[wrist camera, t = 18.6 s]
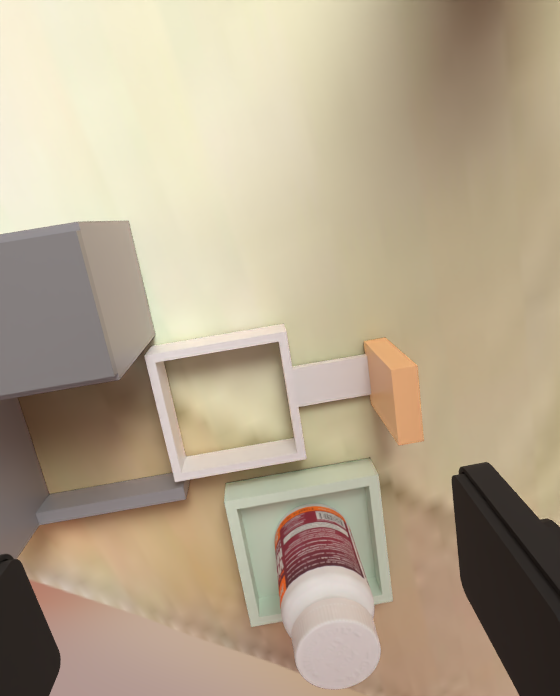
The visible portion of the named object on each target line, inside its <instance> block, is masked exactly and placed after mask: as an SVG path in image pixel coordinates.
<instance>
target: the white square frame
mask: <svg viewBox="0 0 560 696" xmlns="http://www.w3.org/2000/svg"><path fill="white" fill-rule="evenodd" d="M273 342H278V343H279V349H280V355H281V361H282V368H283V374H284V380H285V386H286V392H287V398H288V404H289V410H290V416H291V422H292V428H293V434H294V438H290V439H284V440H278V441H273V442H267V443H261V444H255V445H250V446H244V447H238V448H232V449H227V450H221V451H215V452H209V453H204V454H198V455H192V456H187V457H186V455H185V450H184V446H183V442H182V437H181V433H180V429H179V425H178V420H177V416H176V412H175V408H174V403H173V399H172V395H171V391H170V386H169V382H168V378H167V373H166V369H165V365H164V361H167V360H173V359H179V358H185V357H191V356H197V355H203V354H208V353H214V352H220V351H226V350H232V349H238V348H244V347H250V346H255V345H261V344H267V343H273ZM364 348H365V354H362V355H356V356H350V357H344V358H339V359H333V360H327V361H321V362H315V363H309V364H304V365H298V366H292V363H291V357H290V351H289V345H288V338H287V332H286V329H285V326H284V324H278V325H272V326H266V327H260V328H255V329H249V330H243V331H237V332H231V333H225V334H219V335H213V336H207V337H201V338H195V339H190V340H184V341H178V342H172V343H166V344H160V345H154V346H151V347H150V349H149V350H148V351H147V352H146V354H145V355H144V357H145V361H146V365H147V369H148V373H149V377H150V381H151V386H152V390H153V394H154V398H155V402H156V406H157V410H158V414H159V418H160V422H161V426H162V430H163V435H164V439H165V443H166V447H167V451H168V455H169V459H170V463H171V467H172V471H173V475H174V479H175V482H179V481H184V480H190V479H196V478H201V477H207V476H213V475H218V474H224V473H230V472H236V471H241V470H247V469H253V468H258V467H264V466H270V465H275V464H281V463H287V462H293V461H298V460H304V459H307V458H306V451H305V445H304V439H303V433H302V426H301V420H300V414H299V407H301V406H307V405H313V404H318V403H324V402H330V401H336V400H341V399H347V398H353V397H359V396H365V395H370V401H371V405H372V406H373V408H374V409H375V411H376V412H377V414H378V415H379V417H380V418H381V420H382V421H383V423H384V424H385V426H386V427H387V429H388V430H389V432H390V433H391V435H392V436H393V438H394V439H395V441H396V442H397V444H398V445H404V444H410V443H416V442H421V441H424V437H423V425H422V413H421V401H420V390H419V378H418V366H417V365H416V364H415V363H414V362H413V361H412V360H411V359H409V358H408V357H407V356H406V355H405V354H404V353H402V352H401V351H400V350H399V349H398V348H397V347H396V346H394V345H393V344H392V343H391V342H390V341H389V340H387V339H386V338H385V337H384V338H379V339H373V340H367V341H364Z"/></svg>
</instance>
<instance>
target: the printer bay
mask: <svg viewBox="0 0 560 696" xmlns="http://www.w3.org/2000/svg"><path fill="white" fill-rule="evenodd" d="M154 336H155V331H154V326H153V322H152V318H151V314H150V309H149V305H148V301H147V297H146V292H145V288H144V284H143V280H142V275H141V271H140V267H139V263H138V258H137V254H136V250H135V246H134V241H133V237H132V233H131V229H130V224H129V221H90V222H73V223H67V224H61V225H55V226H49V227H43V228H37V229H30V230H24V231H18V232H12V233H6V234H0V555H1V554H10V555H11V556H12V557H13V558H14V559H17V557H18V556H19V555H20V553H21V552H22V550H23V549H24V547H25V546H26V544H27V543H28V541H29V540H30V538H31V537H32V535H33V534H34V532H35V531H36V529H37V528H38V527H39V525H43V524H49V523H54V522H60V521H66V520H71V519H77V518H83V517H89V516H94V515H100V514H106V513H111V512H117V511H123V510H128V509H134V508H140V507H145V506H151V505H157V504H162V503H168V502H174V501H179V500H185V499H186V497H187V493H188V488H189V483H190V480H184V481H179V482H175V479H174V475H173V473H168V474H162V475H156V476H151V477H145V478H139V479H134V480H128V481H122V482H116V483H111V484H105V485H99V486H94V487H88V488H82V489H76V490H71V491H65V492H59V493H54V494H49V492H48V489H47V486H46V483H45V480H44V477H43V474H42V471H41V468H40V465H39V462H38V459H37V455H36V452H35V449H34V446H33V443H32V440H31V437H30V434H29V431H28V428H27V425H26V422H25V419H24V416H23V413H22V410H21V407H20V403H19V400H18V397H22V396H27V395H33V394H39V393H45V392H51V391H57V390H63V389H68V388H74V387H80V386H86V385H92V384H98V383H104V382H110V381H115V380H120V379H121V377H122V376H123V375H124V374H125V372H126V371H127V370H128V369H129V367H130V366H131V365H132V364H133V362H134V361H135V360H136V359H137V357H138V356H139V355H140V354H141V352H142V351H143V350H144V349H145V347H146V346H147V345H148V343H149V342H150V341H151V340H152V338H153V337H154Z"/></svg>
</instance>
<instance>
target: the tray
mask: <svg viewBox="0 0 560 696" xmlns="http://www.w3.org/2000/svg"><path fill="white" fill-rule="evenodd" d="M224 504H225V508H226V513H227V518H228V522H229V527H230V531H231V536H232V541H233V545H234V550H235V555H236V559H237V564H238V568H239V573H240V578H241V582H242V587H243V592H244V596H245V601H246V605H247V610H248V615H249V619H250V624H251V627H255V626H260V625H266V624H271V623H277V622H282V616H281V607H280V597H279V587H278V577H277V567H276V555H275V532H276V529H277V526H278V524H279V522H280V521H281V519H282V518H283V517H284V516H285V515H286V514H287V513H288V512H290V511H291V510H293V509H294V508H296V507H299V506H302V505H306V504H324V505H327V506H330V507H332V508H334V509H336V510H337V511H339V512H340V513H341V514H342V515H343V517H344V518H345V519H346V521H347V523H348V525H349V527H350V530H351V533H352V536H353V539H354V542H355V545H356V548H357V551H358V554H359V557H360V560H361V563H362V566H363V568H364V571H365V574H366V577H367V581H368V583H369V586H370V589H371V592H372V595H373V599H374V605H375V604H381V603H386V602H392V601H393V596H392V587H391V578H390V570H389V561H388V552H387V544H386V535H385V526H384V518H383V509H382V500H381V492H380V483H379V475H378V473H377V471H376V469H375V467H374V465H373V463H372V461H371V459H370V458H366V459H360V460H355V461H349V462H343V463H338V464H332V465H326V466H320V467H315V468H309V469H303V470H298V471H292V472H286V473H281V474H275V475H269V476H264V477H258V478H252V479H247V480H241V481H235V482H230V483H226V485H225V497H224Z"/></svg>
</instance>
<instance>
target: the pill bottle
mask: <svg viewBox="0 0 560 696" xmlns="http://www.w3.org/2000/svg"><path fill="white" fill-rule="evenodd" d="M275 555H276V567H277V577H278V587H279V597H280V607H281V616H282V621H283V625H284V627H285V629H286V631H287V633H288V635H289V636H290V637H291V638H292V645H293V650H294V657H295V663H296V667H297V669H298V671H299V673H300V674H301V676H302V677H303V678H304V679H305V680H306V681H308V682H309V683H311V684H312V685H315V686H317V687H320V688H324V689H344V688H348V687H351V686H354V685H356V684H358V683H360V682H362V681H363V680H365V679H366V678H367V677H368V676H370V674H371V673H372V672H373V671H374V670H375V668H376V666H377V664H378V662H379V659H380V655H381V647H380V641H379V638H378V635H377V632H376V627H375V624H374V621H373V617H374V599H373V595H372V592H371V589H370V586H369V583H368V581H367V577H366V574H365V571H364V568H363V566H362V563H361V560H360V557H359V554H358V551H357V548H356V545H355V542H354V539H353V536H352V533H351V530H350V527H349V525H348V523H347V521H346V519H345V518H344V517H343V515H342V514H341V513H340V512H339V511H337V510H336V509H334V508H332V507H330V506H327V505H324V504H306V505H302V506H299V507H296V508H294V509H293V510H291V511H290V512H288V513H287V514H286V515H285V516H284V517H283V518H282V519H281V521H280V522H279V524H278V526H277V529H276V532H275Z"/></svg>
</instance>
